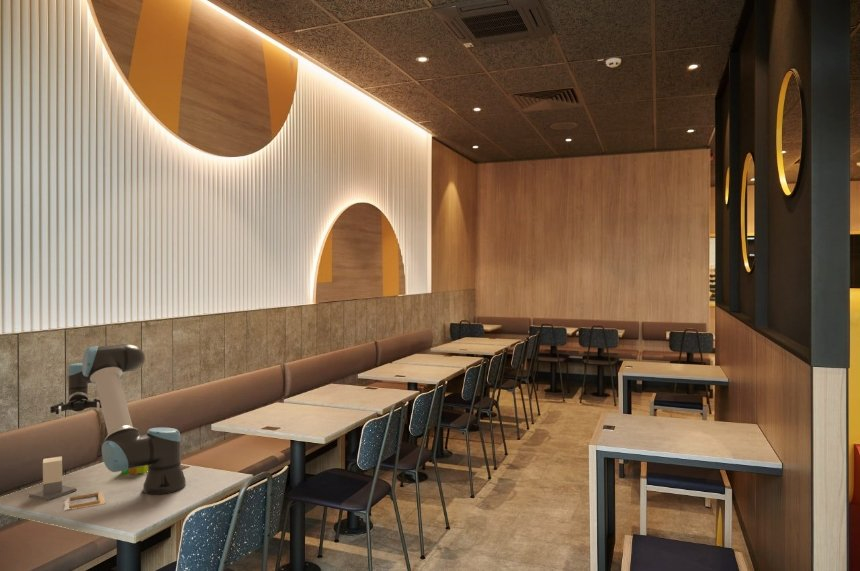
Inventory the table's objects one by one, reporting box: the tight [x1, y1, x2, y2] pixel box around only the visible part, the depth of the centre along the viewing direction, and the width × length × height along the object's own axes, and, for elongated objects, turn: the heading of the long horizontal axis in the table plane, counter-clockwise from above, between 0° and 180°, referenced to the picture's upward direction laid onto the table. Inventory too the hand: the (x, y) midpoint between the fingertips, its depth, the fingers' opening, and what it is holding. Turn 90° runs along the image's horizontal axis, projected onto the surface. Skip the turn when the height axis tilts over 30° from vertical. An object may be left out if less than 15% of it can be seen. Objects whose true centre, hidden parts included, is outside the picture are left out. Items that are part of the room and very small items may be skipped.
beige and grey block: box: [42, 456, 63, 495], centre depth 224 cm, size 6×6×12 cm
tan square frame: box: [68, 491, 106, 510], centre depth 216 cm, size 13×13×1 cm
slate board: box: [28, 484, 77, 501], centre depth 224 cm, size 11×11×1 cm
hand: (79, 410), depth 239 cm, fingers open, 13 cm apart
